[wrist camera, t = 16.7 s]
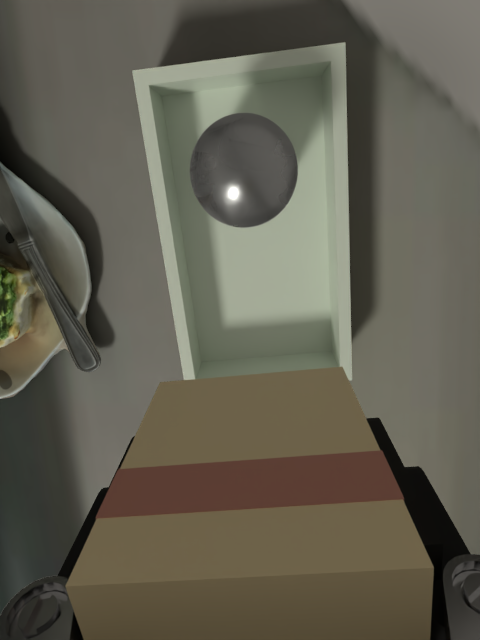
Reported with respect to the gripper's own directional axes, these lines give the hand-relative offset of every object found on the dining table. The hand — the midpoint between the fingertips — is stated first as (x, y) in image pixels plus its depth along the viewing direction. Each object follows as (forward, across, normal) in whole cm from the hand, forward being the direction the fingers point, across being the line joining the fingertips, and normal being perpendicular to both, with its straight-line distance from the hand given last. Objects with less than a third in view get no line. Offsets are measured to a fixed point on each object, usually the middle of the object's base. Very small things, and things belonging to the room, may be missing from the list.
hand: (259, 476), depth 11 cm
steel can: (+17, 0, -8) cm, 19 cm away
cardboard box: (+1, 0, 0) cm, 1 cm away
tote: (+18, 0, -4) cm, 18 cm away
